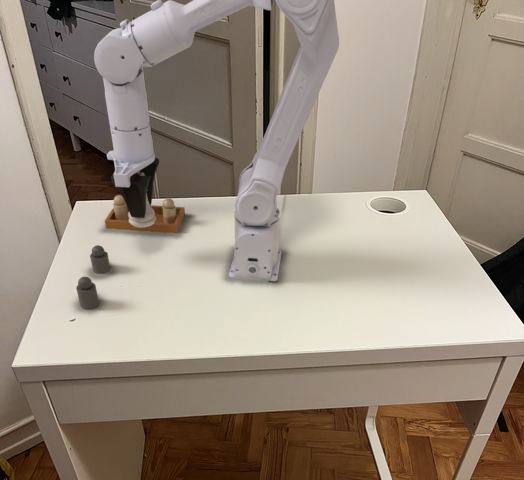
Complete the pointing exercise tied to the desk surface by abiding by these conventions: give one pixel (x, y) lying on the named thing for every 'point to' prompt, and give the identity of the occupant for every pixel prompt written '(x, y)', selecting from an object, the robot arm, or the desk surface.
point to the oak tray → (156, 227)
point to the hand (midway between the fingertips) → (141, 210)
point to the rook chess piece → (149, 215)
